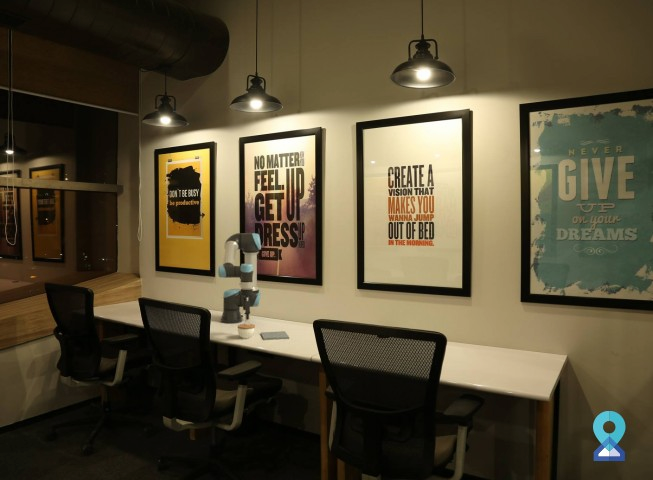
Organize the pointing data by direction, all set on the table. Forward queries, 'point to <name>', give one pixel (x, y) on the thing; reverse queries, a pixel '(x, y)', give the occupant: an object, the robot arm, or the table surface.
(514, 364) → the table surface
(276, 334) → the slate mat
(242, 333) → the lidded jar
